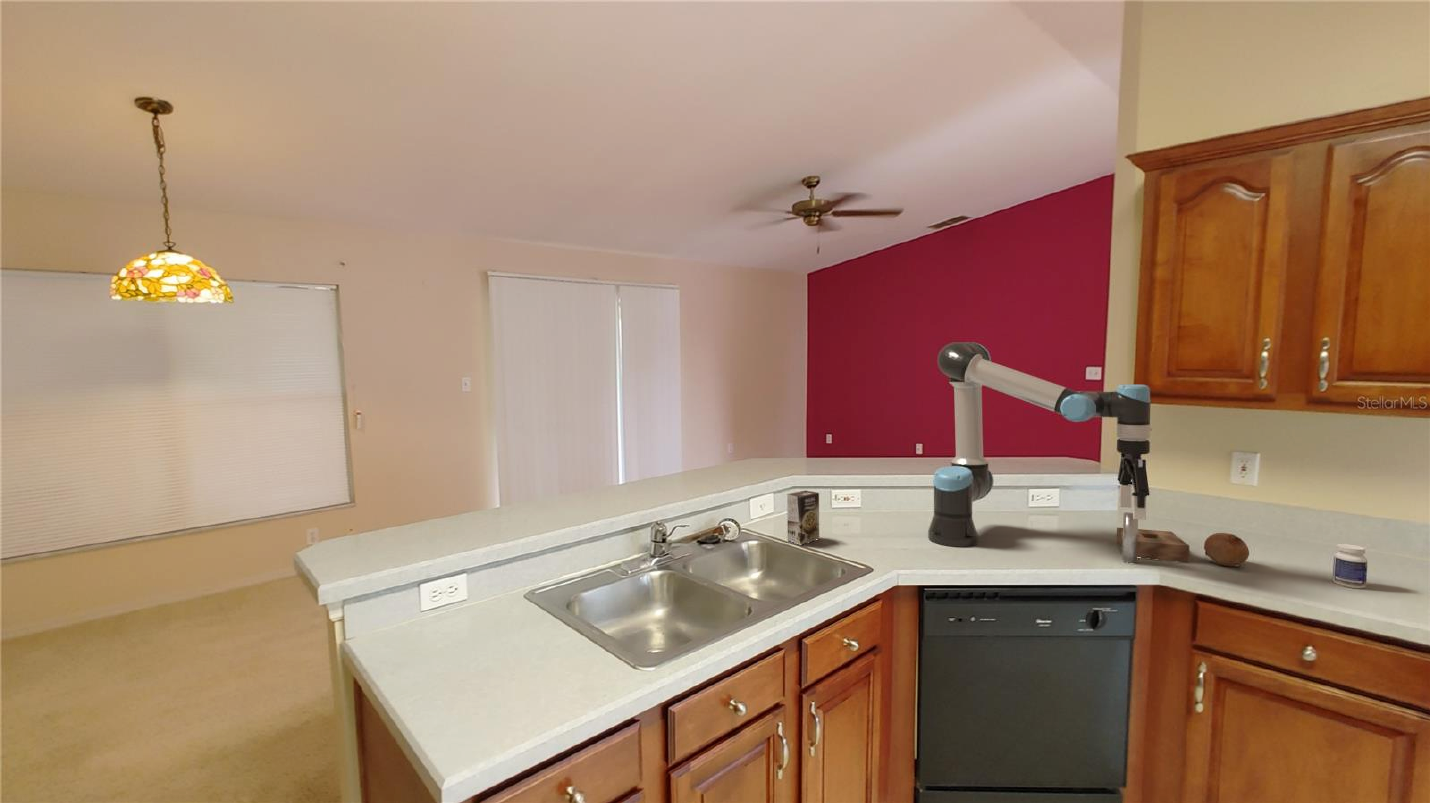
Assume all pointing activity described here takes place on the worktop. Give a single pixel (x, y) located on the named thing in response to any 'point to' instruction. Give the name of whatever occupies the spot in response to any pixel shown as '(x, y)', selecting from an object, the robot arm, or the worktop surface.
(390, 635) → the worktop surface
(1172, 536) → the wooden block with hole
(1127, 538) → the steel pin
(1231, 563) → the kiwi fruit
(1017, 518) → the worktop surface
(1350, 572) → the pill bottle
